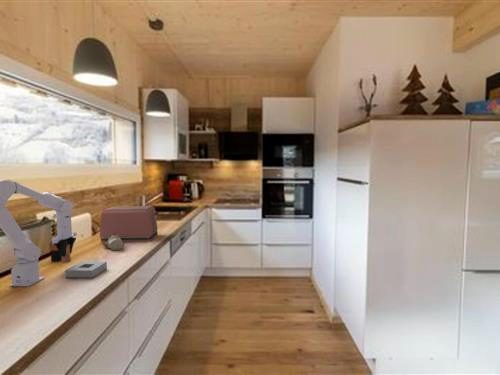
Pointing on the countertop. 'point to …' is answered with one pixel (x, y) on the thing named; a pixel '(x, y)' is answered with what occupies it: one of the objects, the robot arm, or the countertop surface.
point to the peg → (67, 255)
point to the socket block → (86, 270)
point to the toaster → (129, 223)
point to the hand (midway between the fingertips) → (65, 254)
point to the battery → (54, 253)
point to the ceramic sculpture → (114, 242)
